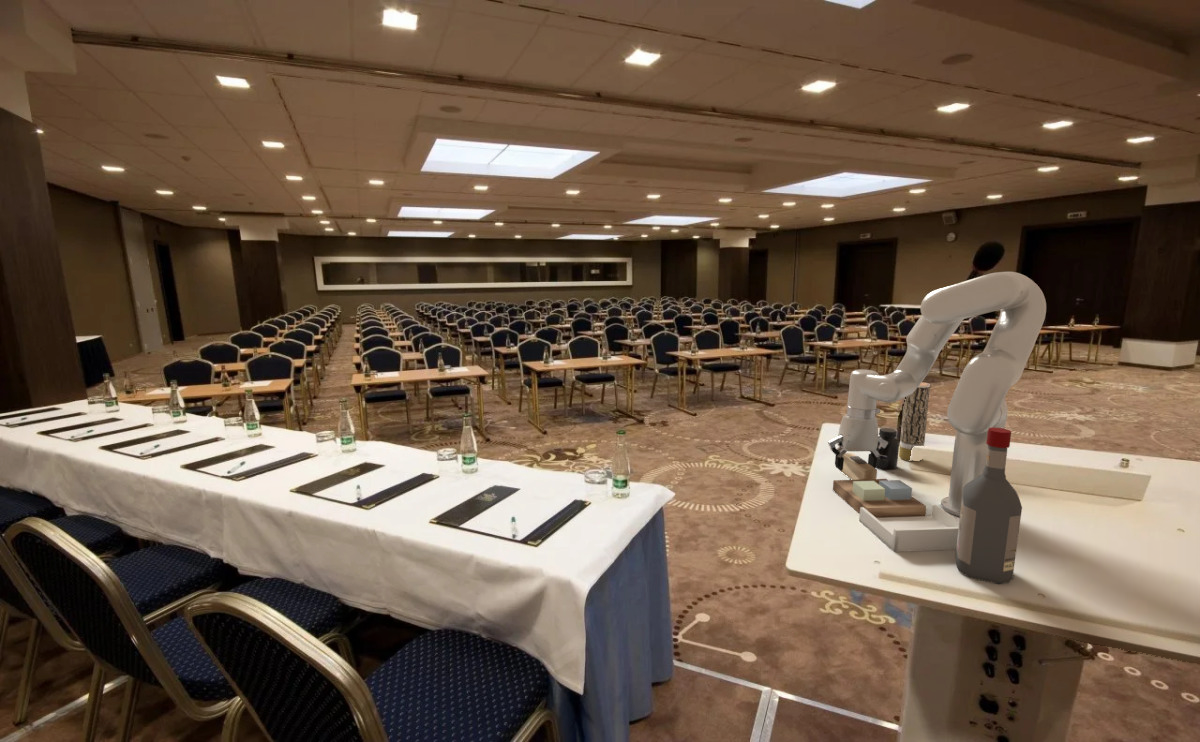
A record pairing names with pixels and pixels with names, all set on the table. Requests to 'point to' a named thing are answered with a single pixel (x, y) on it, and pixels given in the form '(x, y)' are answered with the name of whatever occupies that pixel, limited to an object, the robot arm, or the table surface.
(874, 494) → the tile sage
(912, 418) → the bark textured cylinder
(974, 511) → the liquor
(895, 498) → the tile slate
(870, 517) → the tray
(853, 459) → the wooden block
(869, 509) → the wooden serving board
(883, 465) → the supplement bottle
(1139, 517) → the table surface
